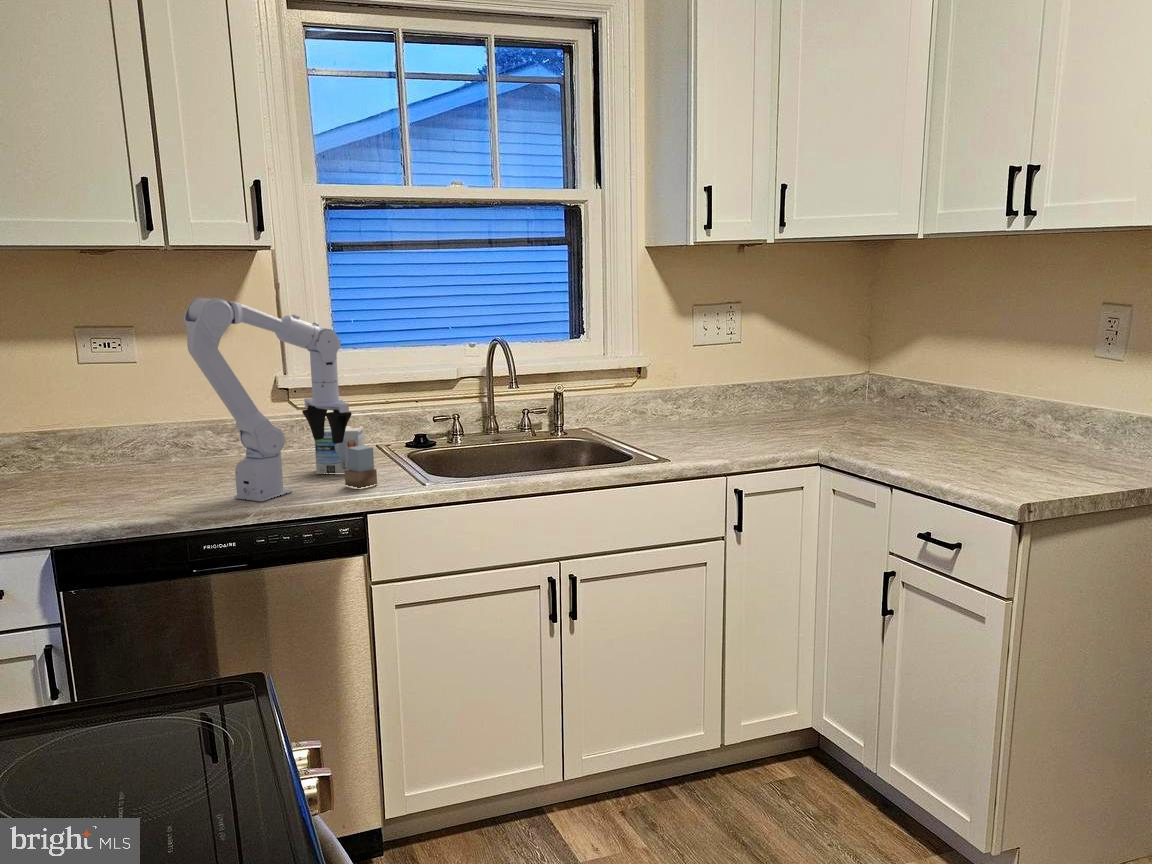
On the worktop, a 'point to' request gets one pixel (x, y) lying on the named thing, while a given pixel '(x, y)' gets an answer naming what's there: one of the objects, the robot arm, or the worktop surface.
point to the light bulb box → (336, 450)
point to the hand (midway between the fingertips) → (328, 441)
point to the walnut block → (360, 478)
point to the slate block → (360, 458)
